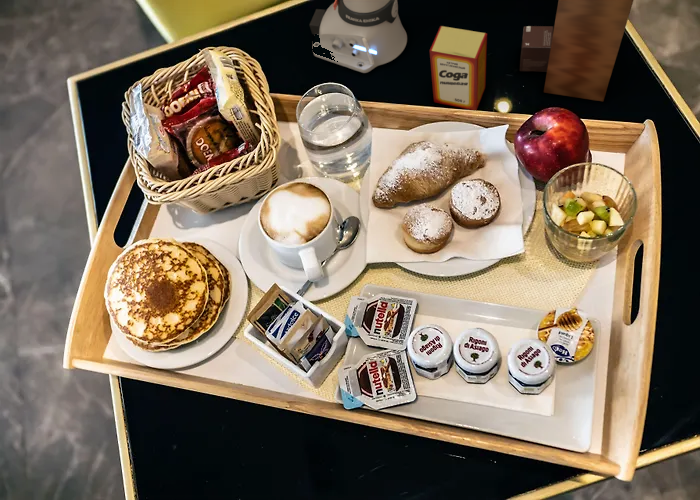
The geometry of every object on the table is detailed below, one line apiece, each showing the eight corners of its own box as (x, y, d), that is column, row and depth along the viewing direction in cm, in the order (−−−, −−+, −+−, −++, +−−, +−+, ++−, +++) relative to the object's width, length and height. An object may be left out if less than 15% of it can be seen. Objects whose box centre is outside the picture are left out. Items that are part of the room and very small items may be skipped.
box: (547, 72, 130) (551, 48, 123) (518, 72, 131) (521, 47, 125) (549, 51, 132) (553, 25, 126) (521, 50, 134) (523, 25, 127)
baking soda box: (433, 102, 132) (429, 49, 118) (443, 79, 134) (440, 24, 120) (476, 110, 129) (476, 57, 115) (485, 87, 131) (487, 32, 117)
